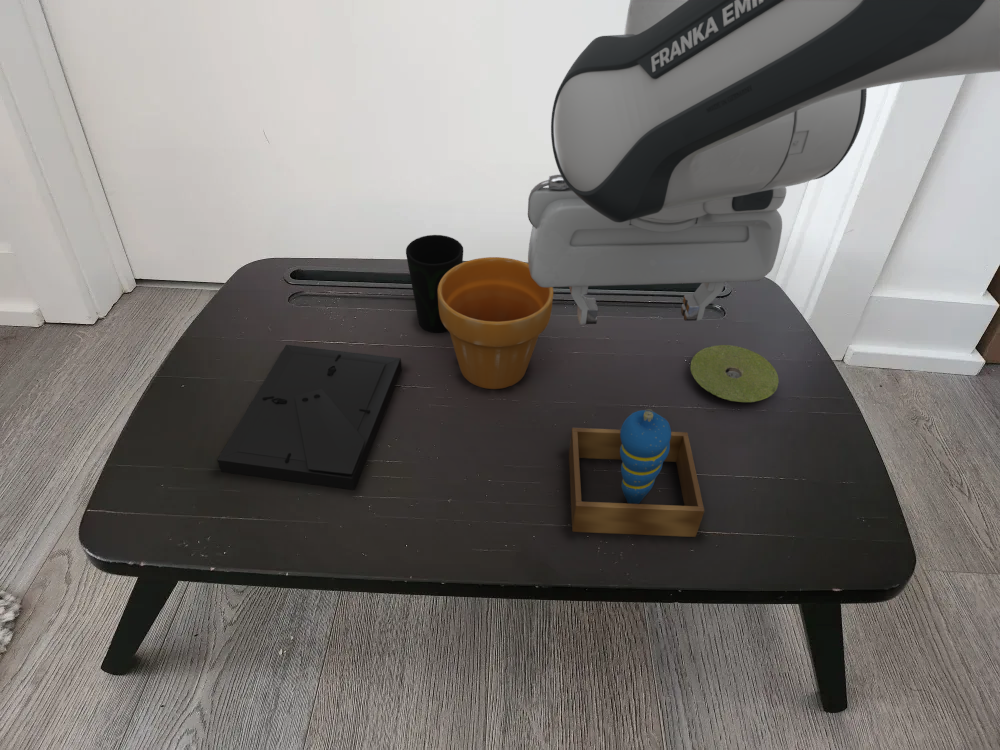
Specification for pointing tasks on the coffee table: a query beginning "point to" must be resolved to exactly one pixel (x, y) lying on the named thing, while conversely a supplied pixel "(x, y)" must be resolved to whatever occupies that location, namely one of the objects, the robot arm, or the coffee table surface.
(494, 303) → the flower pot
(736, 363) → the green flat round disc
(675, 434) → the wooden box
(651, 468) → the ornament
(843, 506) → the coffee table surface
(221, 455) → the picture frame
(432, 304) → the cup
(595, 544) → the coffee table surface
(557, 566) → the coffee table surface
